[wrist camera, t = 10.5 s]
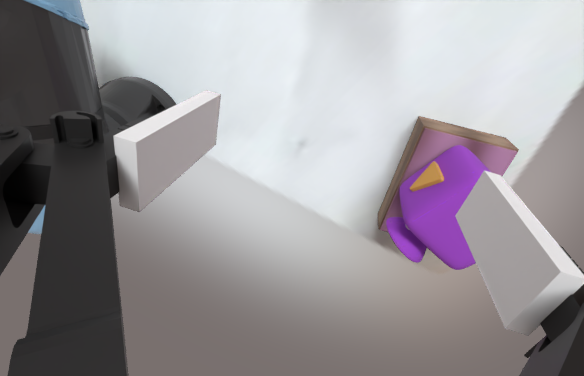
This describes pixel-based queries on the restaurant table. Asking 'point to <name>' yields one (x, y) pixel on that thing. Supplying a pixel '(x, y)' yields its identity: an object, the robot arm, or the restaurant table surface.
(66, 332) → the robot arm
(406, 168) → the walnut step
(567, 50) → the restaurant table surface
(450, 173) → the toy camera
